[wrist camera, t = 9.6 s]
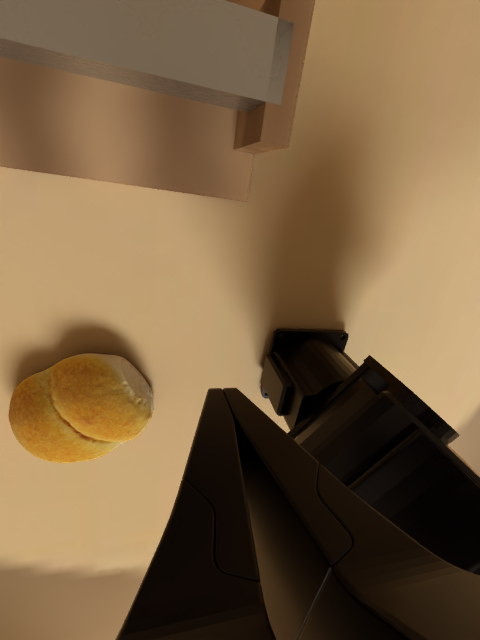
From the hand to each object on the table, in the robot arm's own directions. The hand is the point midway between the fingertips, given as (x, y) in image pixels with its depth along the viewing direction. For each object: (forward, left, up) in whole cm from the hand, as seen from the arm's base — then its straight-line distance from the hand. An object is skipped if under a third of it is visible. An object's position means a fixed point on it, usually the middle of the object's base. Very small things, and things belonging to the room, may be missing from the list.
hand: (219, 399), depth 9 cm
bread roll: (+7, +10, -13) cm, 18 cm away
